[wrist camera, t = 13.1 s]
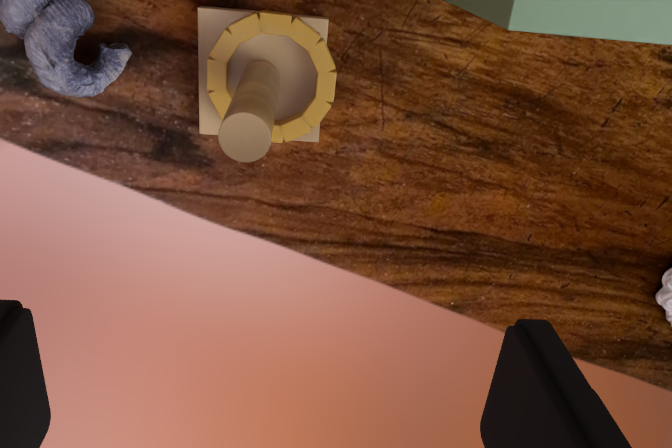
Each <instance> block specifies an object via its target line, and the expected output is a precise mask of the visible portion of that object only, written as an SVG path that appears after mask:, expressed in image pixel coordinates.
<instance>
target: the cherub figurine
mask: <svg viewBox="0 0 672 448" xmlns="http://www.w3.org/2000/svg"><path fill="white" fill-rule="evenodd" d="M662 284H663V287H662V288H661V289H660V290H659V291H658V292H657V294H656V301H657V303H658V304H660V305H661V306H662V307H663V308H664V309H665V310H666V319H667V320H668V321H670V323H671V326H672V268H670V269H669V270H667V271H666V272H665V273H664V275H663V277H662Z"/></svg>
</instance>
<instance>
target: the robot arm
mask: <svg viewBox="0 0 672 448" xmlns="http://www.w3.org/2000/svg"><path fill="white" fill-rule="evenodd" d="M50 414H51V413H50V406H49V401H48V396H47V391H46V385H45V381H44V375H43V370H42V364H41V360H40V354H39V348H38V343H37V338H36V333H35V328H34V322H33V317H32V313H31V311H30V309H27V308H23V307H22V304H21V303H20V302H19V301H17V300H0V448H39V447H40V445H41V443H42V441H43V439H44V437H45V435H46V433H47V431H48V428H49V425H50V418H51V415H50ZM480 432H481V438H482V441H483V444H484V446H485V448H632V447H631V446H630V444H629V443H628V441H627V440H626V438H625V436H624V435H623V433H622V432H621V430H620V429H619V427H618V425H617V424H616V422H615V421H614V419H613V418H612V416H611V415H610V413H609V411H608V410H607V408H606V407H605V405H604V404H603V402H602V400H601V399H600V397H599V396H598V395H597V393H596V392H595V391H594V390H593V389H592V388H591V386H590V385H589V384H588V382H587V380H586V379H585V377H584V375H583V374H582V372H581V371H580V369H579V368H578V366H577V364H576V363H575V361H574V360H573V358H572V357H571V355H570V353H569V352H568V350H567V349H566V347H565V346H564V344H563V342H562V341H561V339H560V338H559V336H558V335H557V333H556V331H555V330H554V328H553V327H552V325H551V324H550V323H549V322H548V321H546V320H531V319H519V320H517V321H516V323H515V325H514V326H509V327H508V328H507V330H506V332H505V336H504V339H503V343H502V347H501V351H500V354H499V357H498V361H497V365H496V368H495V372H494V375H493V379H492V383H491V386H490V390H489V393H488V397H487V400H486V404H485V408H484V411H483V415H482V419H481V423H480Z"/></svg>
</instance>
